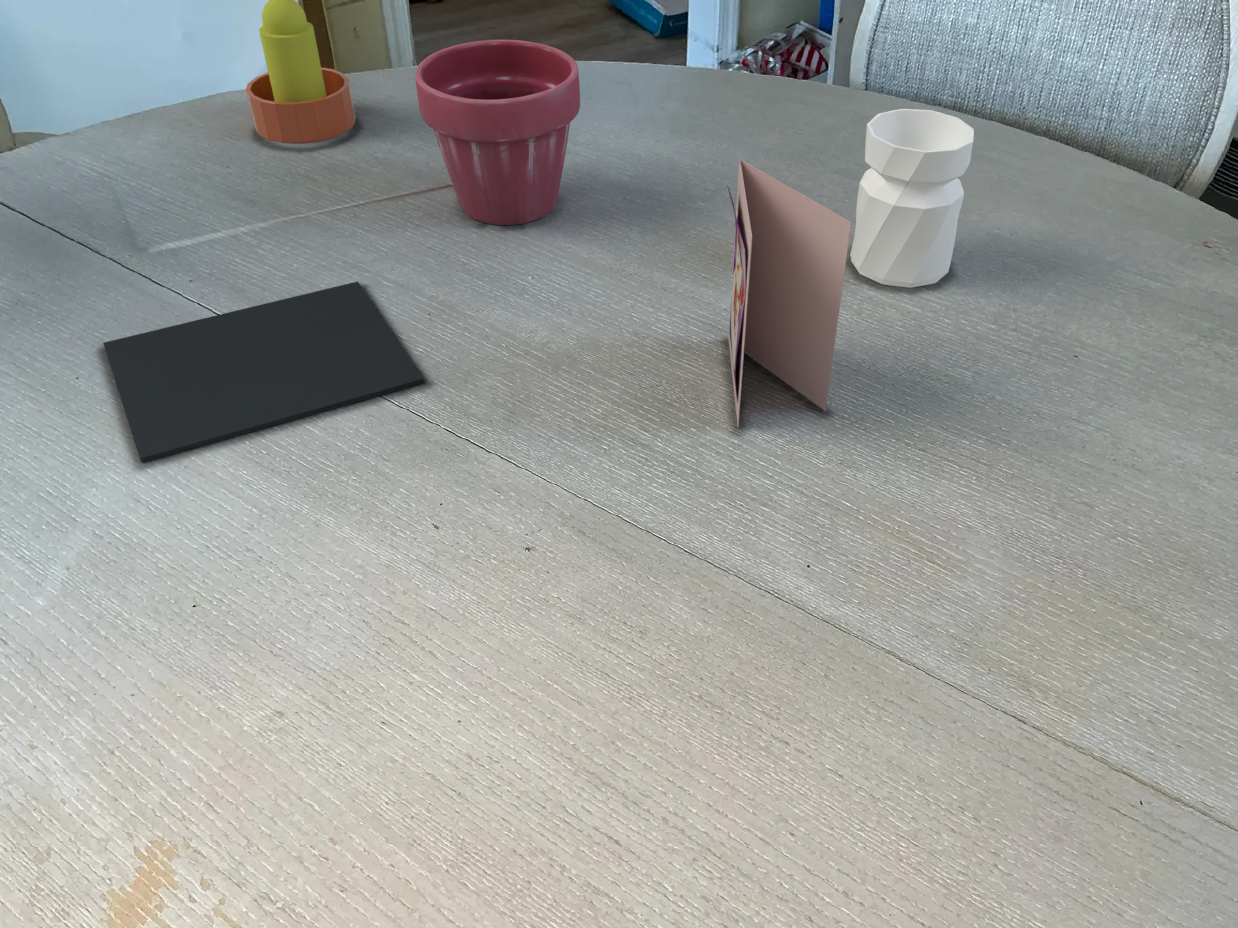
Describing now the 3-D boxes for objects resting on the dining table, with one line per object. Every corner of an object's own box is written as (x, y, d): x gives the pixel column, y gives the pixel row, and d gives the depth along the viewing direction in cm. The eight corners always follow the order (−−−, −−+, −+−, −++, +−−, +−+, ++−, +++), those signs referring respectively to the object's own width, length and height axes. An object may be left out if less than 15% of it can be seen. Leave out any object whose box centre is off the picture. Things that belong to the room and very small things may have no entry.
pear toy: (287, 136, 113) (256, -6, 104) (274, 118, 117) (243, -21, 108) (337, 127, 115) (311, -13, 106) (323, 109, 119) (296, -28, 110)
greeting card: (717, 339, 87) (727, 158, 77) (810, 340, 88) (832, 159, 78) (725, 428, 79) (737, 237, 69) (829, 428, 79) (856, 238, 69)
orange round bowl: (270, 155, 111) (260, 111, 108) (245, 118, 118) (235, 76, 115) (369, 136, 115) (361, 93, 112) (339, 101, 122) (332, 60, 119)
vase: (969, 273, 96) (999, 140, 88) (888, 297, 93) (911, 160, 85) (908, 230, 102) (930, 101, 94) (829, 251, 98) (845, 119, 91)
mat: (141, 463, 75) (139, 458, 74) (104, 346, 85) (102, 342, 85) (424, 383, 82) (423, 378, 82) (358, 285, 93) (357, 281, 92)
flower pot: (537, 253, 97) (527, 110, 89) (403, 220, 101) (380, 80, 93) (609, 187, 107) (606, 53, 99) (484, 160, 111) (470, 29, 103)
